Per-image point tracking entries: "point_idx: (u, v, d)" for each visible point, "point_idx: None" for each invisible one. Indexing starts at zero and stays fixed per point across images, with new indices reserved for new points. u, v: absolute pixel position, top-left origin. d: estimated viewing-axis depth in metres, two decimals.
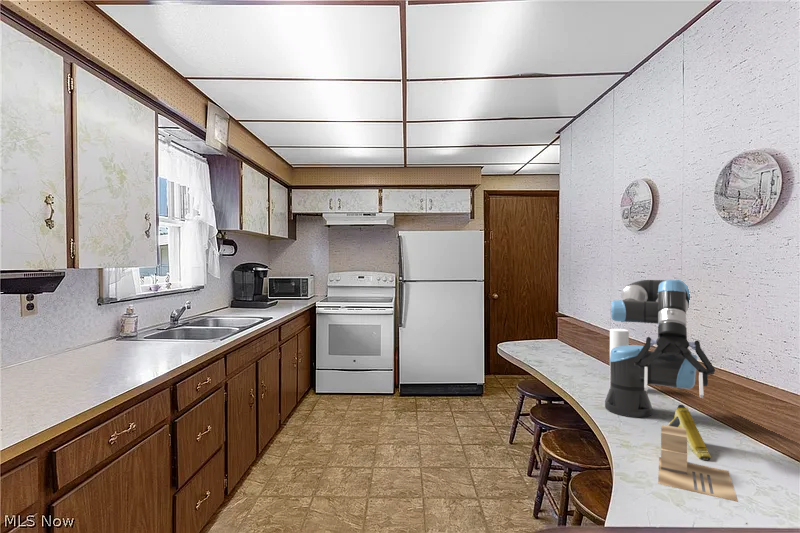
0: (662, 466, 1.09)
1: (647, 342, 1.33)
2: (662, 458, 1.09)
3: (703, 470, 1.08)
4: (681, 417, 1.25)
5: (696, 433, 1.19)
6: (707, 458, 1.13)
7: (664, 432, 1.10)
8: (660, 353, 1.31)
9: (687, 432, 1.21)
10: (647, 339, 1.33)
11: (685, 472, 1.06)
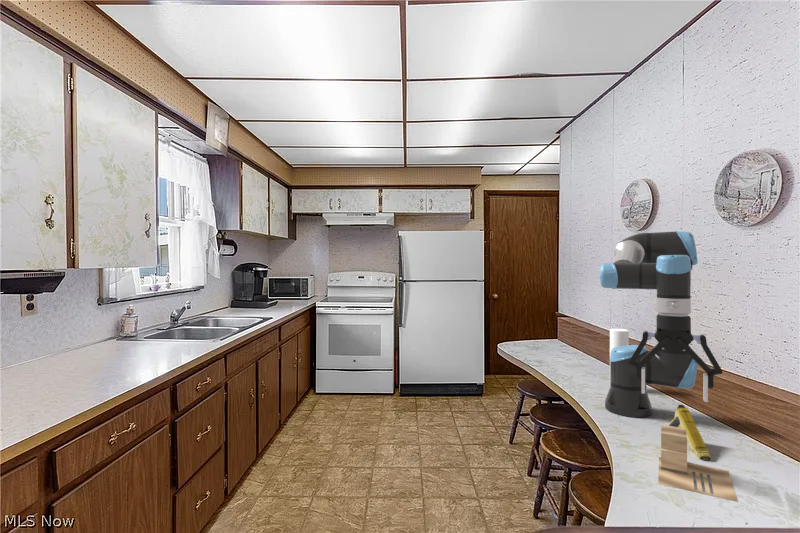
0: (662, 466, 1.09)
1: (644, 338, 1.13)
2: (662, 458, 1.09)
3: (703, 470, 1.08)
4: (681, 417, 1.25)
5: (696, 433, 1.19)
6: (707, 458, 1.13)
7: (664, 432, 1.10)
8: None
9: (687, 432, 1.21)
10: (644, 334, 1.13)
11: (685, 472, 1.06)
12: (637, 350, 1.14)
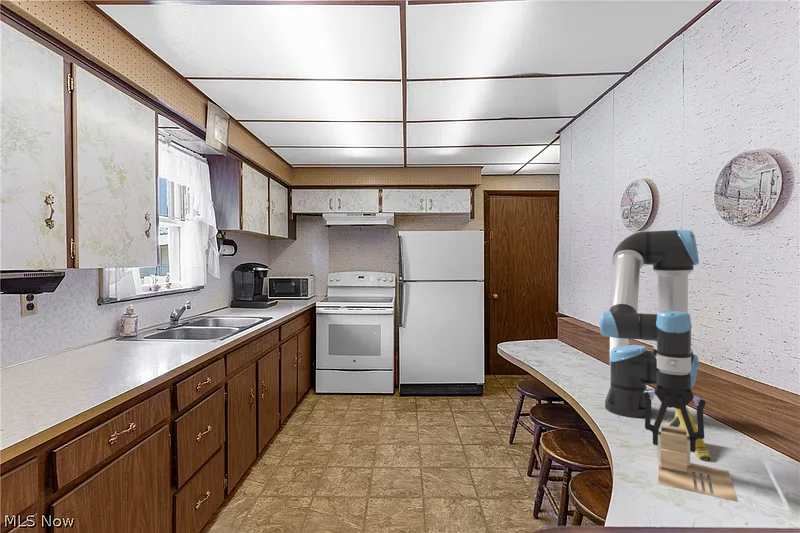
0: (662, 466, 1.09)
1: (647, 399, 1.13)
2: (662, 458, 1.09)
3: (703, 470, 1.08)
4: (681, 417, 1.25)
5: None
6: (707, 458, 1.13)
7: (664, 432, 1.10)
8: None
9: (687, 432, 1.21)
10: (645, 396, 1.13)
11: (685, 472, 1.06)
12: (647, 413, 1.13)
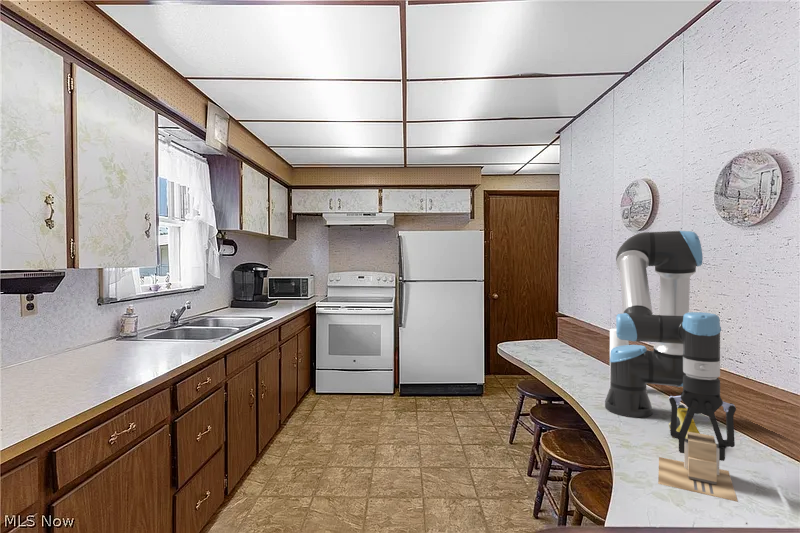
0: (690, 475, 1.04)
1: (673, 405, 1.08)
2: (690, 467, 1.04)
3: None
4: (681, 417, 1.25)
5: None
6: None
7: (691, 440, 1.05)
8: None
9: None
10: (671, 401, 1.08)
11: (714, 482, 1.01)
12: (672, 419, 1.08)
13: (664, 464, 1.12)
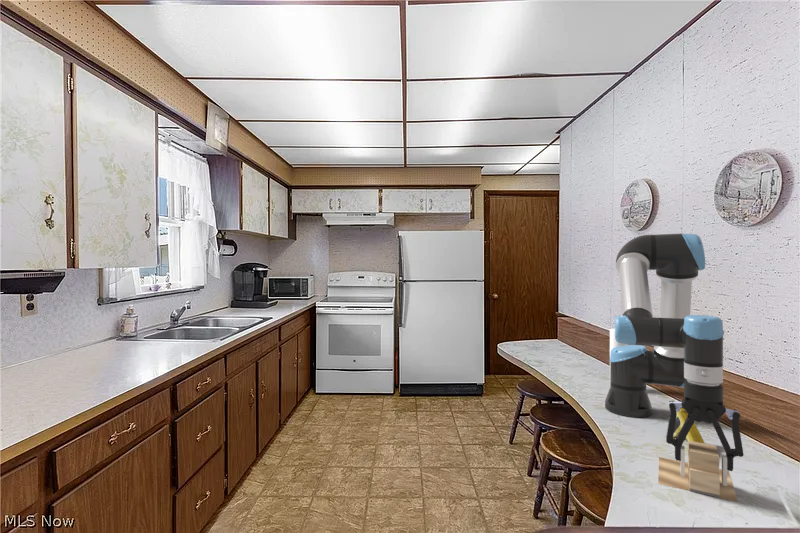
0: (691, 488, 0.99)
1: (672, 411, 1.03)
2: (691, 479, 0.98)
3: None
4: (682, 417, 1.25)
5: (697, 433, 1.19)
6: None
7: (693, 450, 0.99)
8: None
9: (688, 432, 1.21)
10: (671, 407, 1.03)
11: (717, 495, 0.96)
12: (670, 426, 1.03)
13: (664, 464, 1.12)
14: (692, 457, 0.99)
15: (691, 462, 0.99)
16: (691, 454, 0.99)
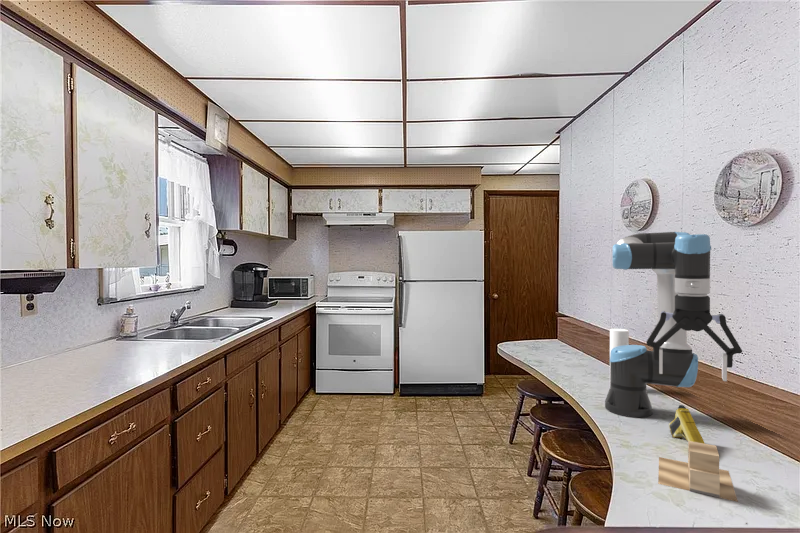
0: (691, 488, 0.99)
1: (662, 319, 1.13)
2: (691, 479, 0.98)
3: None
4: (682, 418, 1.25)
5: (697, 434, 1.19)
6: None
7: (693, 450, 0.99)
8: None
9: (688, 433, 1.21)
10: (662, 315, 1.13)
11: (717, 495, 0.96)
12: (655, 331, 1.14)
13: (664, 464, 1.12)
14: (692, 457, 0.99)
15: (691, 462, 0.99)
16: (691, 454, 0.99)
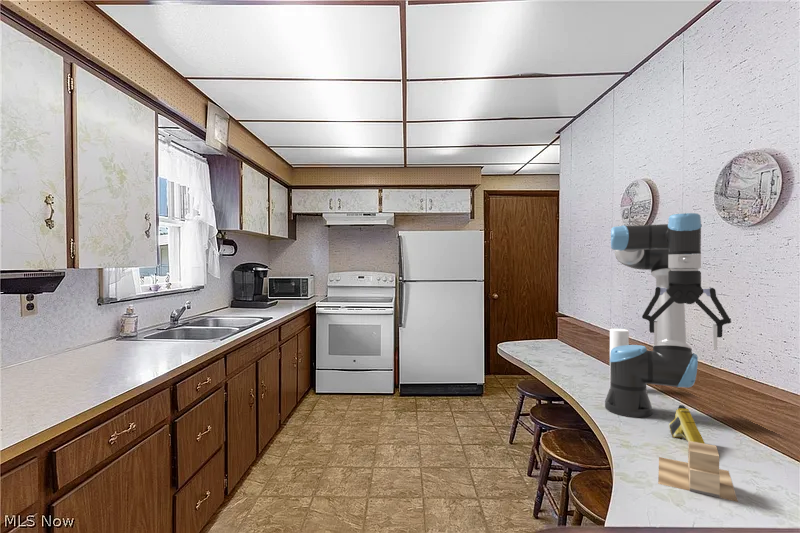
0: (691, 488, 0.99)
1: (656, 293, 1.20)
2: (691, 479, 0.98)
3: None
4: (682, 418, 1.25)
5: (697, 434, 1.19)
6: None
7: (693, 450, 0.99)
8: None
9: (688, 433, 1.21)
10: (656, 290, 1.20)
11: (717, 495, 0.96)
12: (650, 305, 1.21)
13: (664, 464, 1.12)
14: (692, 457, 0.99)
15: (691, 462, 0.99)
16: (691, 454, 0.99)
